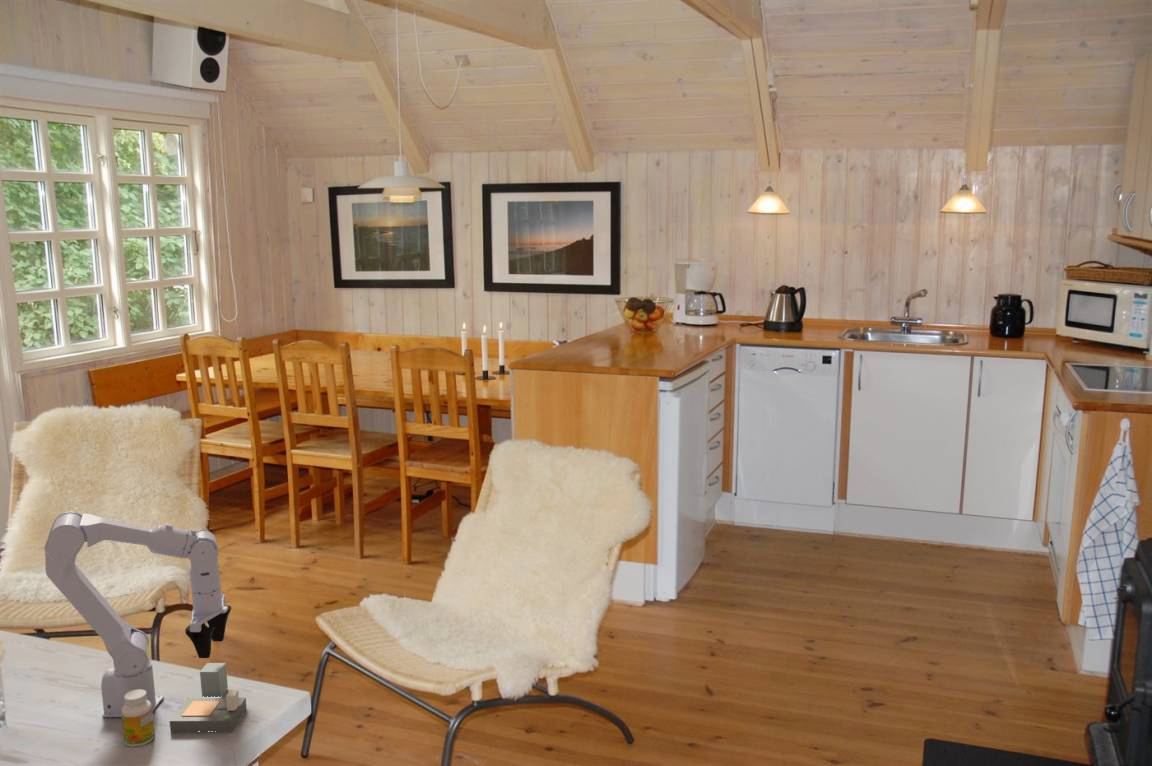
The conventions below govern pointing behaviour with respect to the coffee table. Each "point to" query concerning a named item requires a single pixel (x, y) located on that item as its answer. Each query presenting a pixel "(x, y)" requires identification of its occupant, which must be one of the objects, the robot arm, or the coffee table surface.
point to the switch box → (206, 715)
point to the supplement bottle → (137, 718)
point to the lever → (232, 700)
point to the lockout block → (213, 679)
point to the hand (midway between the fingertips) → (211, 649)
